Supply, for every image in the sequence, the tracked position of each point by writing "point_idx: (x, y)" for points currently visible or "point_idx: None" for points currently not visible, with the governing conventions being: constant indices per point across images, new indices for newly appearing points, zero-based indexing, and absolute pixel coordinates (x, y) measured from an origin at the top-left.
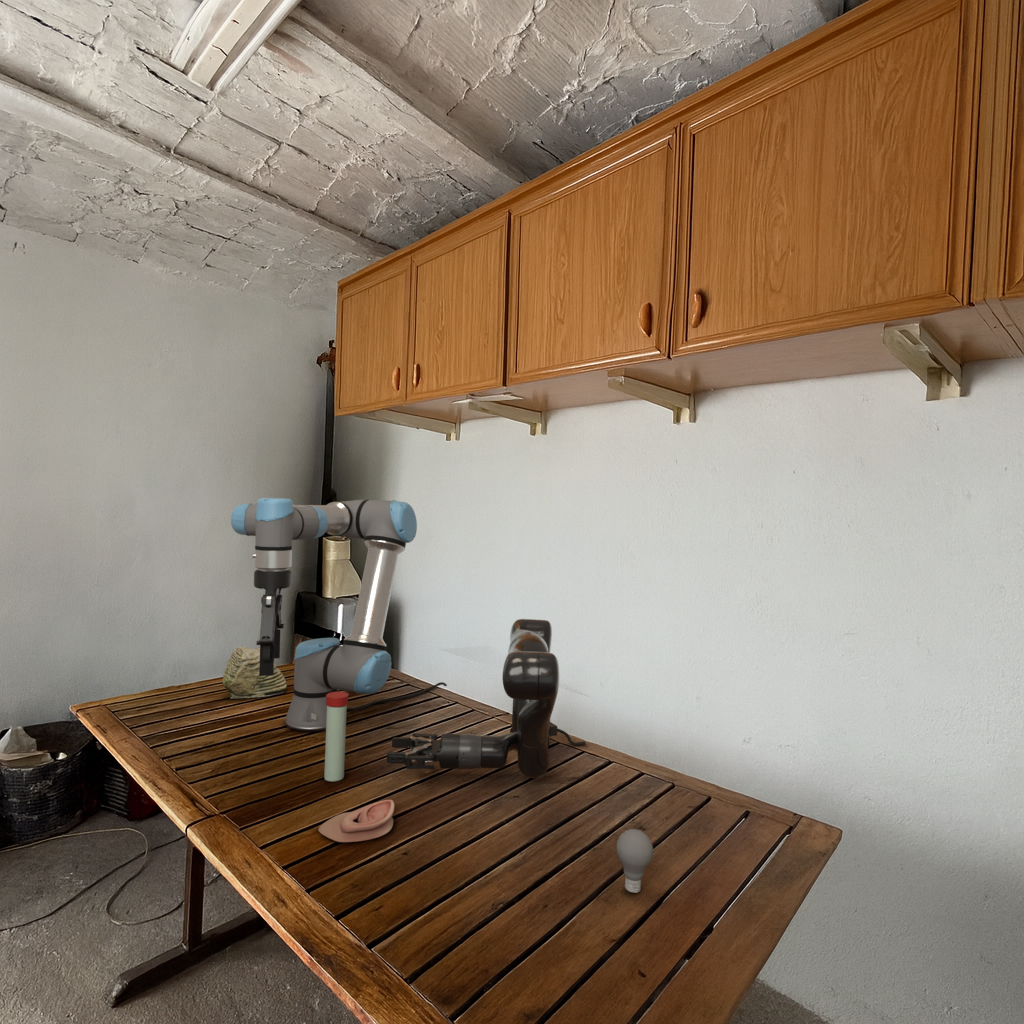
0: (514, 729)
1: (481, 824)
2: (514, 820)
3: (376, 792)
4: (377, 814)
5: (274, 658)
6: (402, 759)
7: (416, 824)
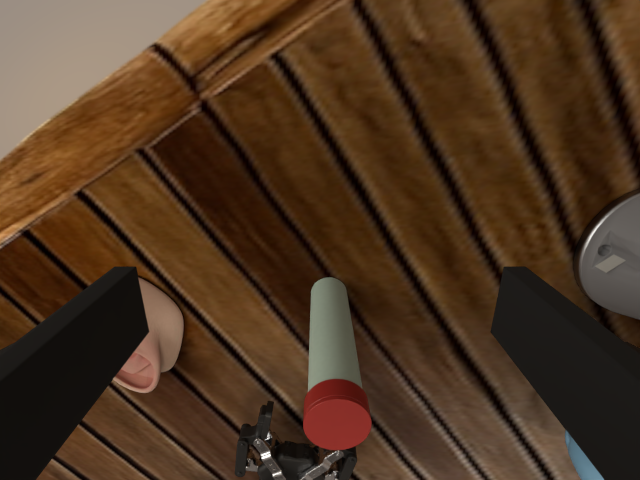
0: None
1: (152, 460)
2: None
3: (259, 353)
4: (129, 364)
5: (495, 308)
6: (256, 428)
7: (153, 395)
